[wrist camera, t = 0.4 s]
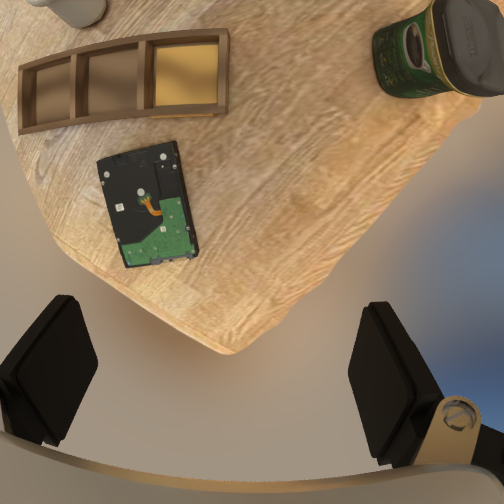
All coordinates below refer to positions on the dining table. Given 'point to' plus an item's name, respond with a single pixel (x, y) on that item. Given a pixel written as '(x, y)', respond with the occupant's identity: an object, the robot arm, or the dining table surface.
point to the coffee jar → (443, 51)
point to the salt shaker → (75, 10)
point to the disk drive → (149, 205)
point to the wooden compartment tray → (127, 80)
